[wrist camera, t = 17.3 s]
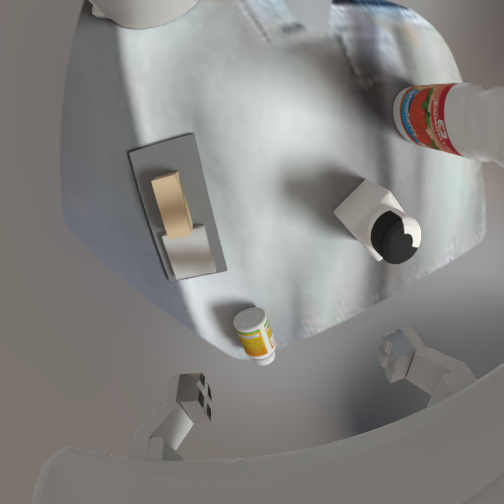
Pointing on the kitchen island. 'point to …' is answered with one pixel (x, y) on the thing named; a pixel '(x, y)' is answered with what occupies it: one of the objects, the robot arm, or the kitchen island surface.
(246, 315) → the supplement bottle
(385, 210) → the medicine bottle
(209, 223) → the mat
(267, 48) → the kitchen island surface
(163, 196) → the putty knife
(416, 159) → the kitchen island surface
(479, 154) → the fruit juice
